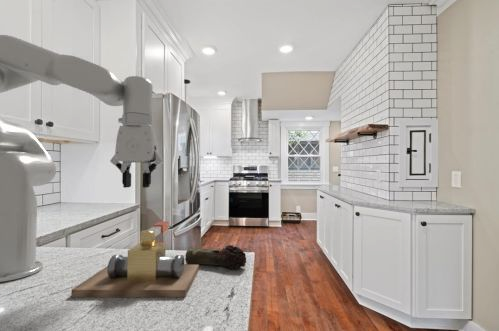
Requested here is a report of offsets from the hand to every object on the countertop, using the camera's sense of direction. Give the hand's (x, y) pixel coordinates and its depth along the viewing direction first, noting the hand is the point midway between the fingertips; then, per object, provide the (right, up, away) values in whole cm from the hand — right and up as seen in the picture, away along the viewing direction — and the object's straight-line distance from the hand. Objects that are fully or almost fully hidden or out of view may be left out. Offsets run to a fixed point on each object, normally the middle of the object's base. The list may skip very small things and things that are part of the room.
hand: (136, 186), depth 72 cm
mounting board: (+6, -22, -10) cm, 25 cm away
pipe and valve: (+7, -21, -10) cm, 24 cm away
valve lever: (+7, -13, -5) cm, 16 cm away
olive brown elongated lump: (+22, -23, +2) cm, 32 cm away
